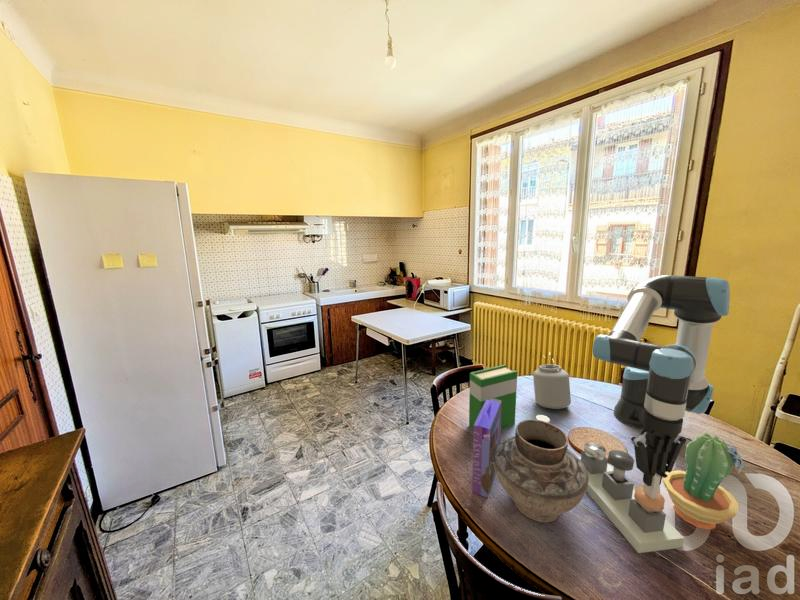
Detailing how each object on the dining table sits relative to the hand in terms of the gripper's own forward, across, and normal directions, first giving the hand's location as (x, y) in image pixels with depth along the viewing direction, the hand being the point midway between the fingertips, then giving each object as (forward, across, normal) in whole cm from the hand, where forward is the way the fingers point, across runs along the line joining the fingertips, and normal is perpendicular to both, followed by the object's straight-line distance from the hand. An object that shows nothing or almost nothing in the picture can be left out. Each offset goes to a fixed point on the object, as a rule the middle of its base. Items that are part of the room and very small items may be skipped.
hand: (649, 494), depth 81 cm
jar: (+12, -10, -63) cm, 65 cm away
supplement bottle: (+12, +10, -34) cm, 37 cm away
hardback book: (+12, +22, -51) cm, 57 cm away
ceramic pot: (+12, +24, -12) cm, 29 cm away
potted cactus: (+12, -18, -3) cm, 22 cm away
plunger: (+9, 0, -20) cm, 22 cm away
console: (+12, 0, -10) cm, 16 cm away
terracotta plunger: (+7, 0, 0) cm, 7 cm away
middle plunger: (+4, 0, -10) cm, 11 cm away
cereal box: (+12, +34, -24) cm, 44 cm away
